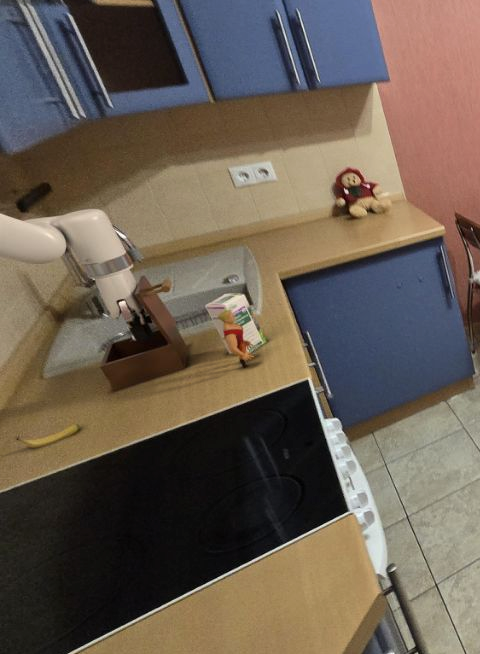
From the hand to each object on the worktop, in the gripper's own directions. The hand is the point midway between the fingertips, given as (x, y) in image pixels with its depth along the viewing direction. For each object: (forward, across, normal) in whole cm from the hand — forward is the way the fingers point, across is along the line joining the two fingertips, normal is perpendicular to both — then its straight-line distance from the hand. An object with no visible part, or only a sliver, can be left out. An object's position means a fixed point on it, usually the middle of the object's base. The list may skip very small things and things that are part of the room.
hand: (147, 335), depth 125 cm
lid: (-6, 0, +3) cm, 7 cm away
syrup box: (+9, +6, +17) cm, 20 cm away
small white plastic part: (0, 0, 0) cm, 0 cm away
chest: (+9, 0, -2) cm, 9 cm away
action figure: (+9, +15, +17) cm, 24 cm away
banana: (+9, +20, -16) cm, 27 cm away
